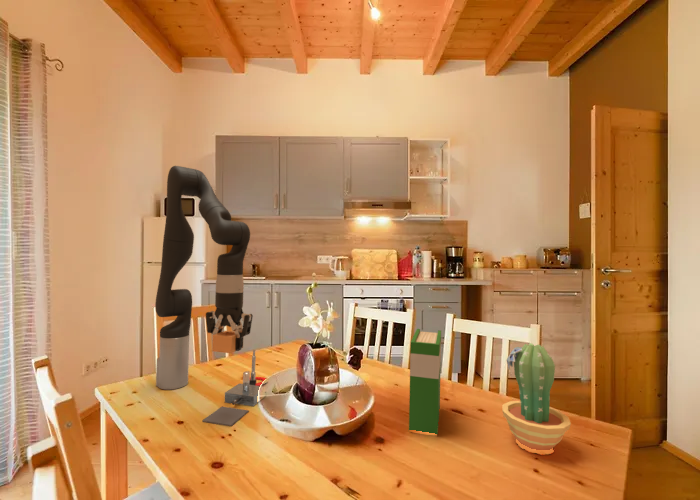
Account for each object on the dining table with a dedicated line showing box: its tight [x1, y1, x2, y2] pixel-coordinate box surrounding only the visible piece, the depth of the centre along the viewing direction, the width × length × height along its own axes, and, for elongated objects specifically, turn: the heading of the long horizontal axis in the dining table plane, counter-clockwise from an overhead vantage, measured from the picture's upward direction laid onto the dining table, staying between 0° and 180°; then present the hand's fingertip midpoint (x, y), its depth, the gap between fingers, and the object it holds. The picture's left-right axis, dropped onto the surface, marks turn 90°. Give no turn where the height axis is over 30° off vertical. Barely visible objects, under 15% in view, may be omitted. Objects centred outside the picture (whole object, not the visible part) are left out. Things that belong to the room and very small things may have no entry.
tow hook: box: [249, 349, 267, 386], centre depth 124 cm, size 8×13×9 cm
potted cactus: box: [501, 343, 572, 450], centre depth 87 cm, size 15×15×25 cm
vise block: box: [224, 370, 260, 407], centre depth 109 cm, size 10×11×8 cm
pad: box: [202, 406, 250, 427], centre depth 98 cm, size 9×9×1 cm
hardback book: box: [408, 328, 442, 435], centre depth 99 cm, size 18×7×24 cm, turn 163°
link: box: [211, 330, 237, 354], centre depth 98 cm, size 6×6×4 cm
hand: (228, 349), depth 98 cm, fingers closed on link, 6 cm apart
